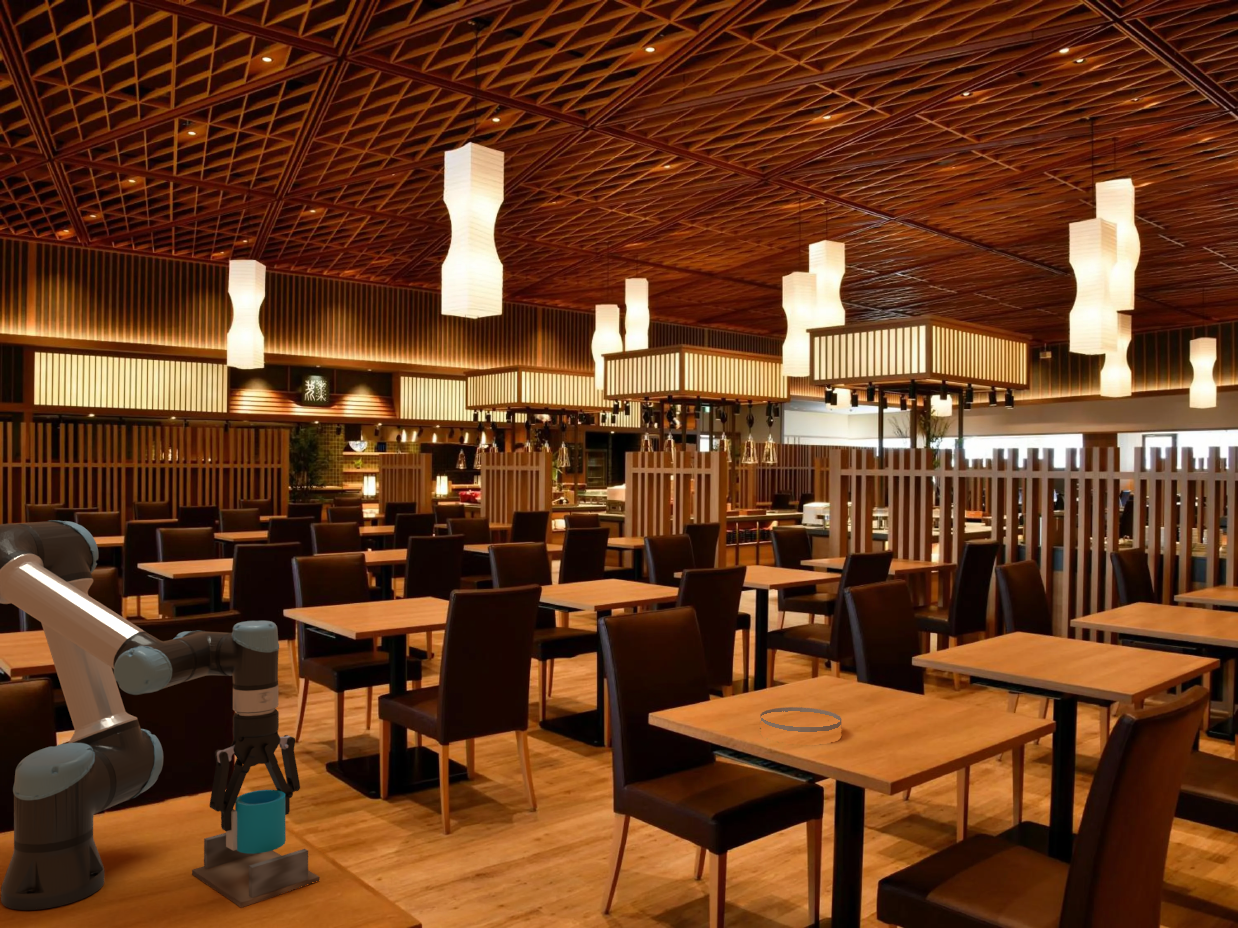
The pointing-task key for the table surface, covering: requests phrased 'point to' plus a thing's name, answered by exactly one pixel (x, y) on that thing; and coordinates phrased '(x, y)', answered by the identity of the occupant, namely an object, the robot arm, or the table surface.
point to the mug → (260, 821)
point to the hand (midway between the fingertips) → (256, 840)
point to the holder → (251, 872)
